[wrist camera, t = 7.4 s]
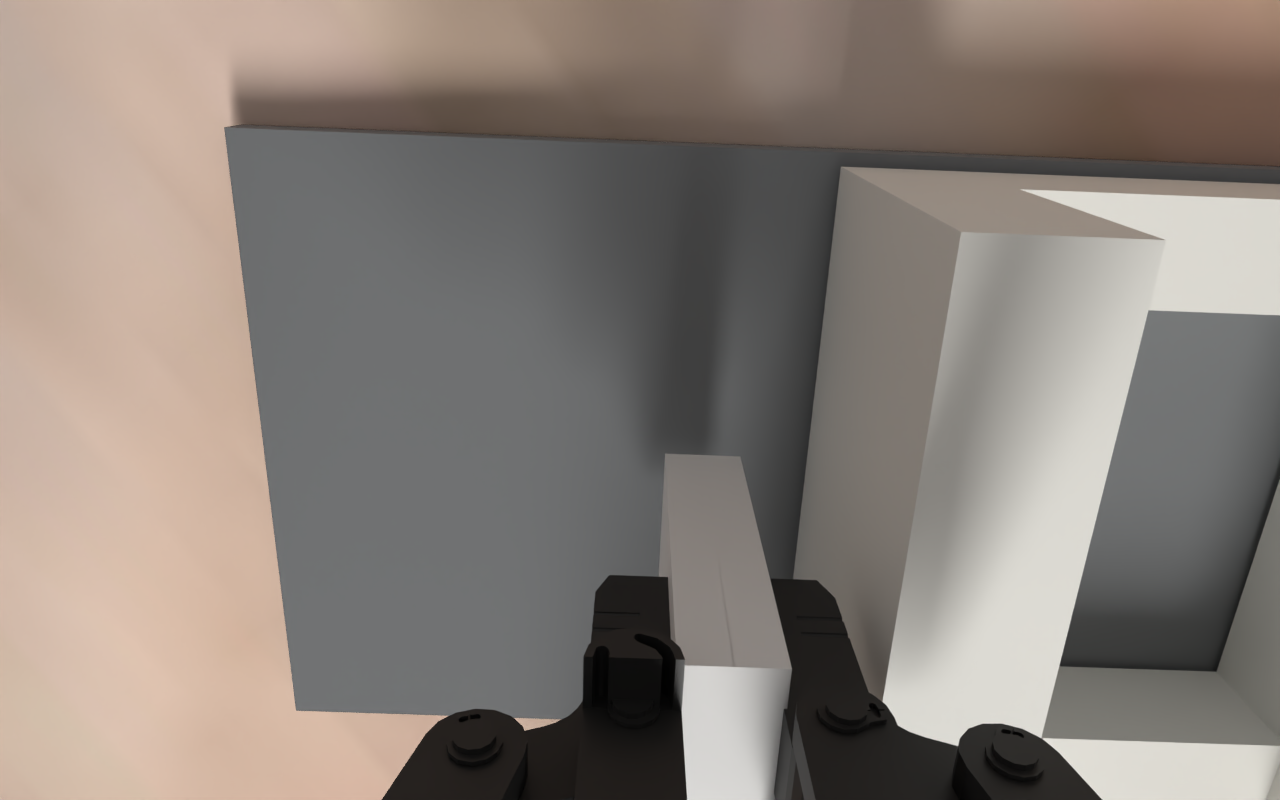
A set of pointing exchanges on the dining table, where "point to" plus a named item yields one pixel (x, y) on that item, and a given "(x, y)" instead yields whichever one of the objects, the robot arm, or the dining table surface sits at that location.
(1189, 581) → the board
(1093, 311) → the frame block
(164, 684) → the dining table surface
